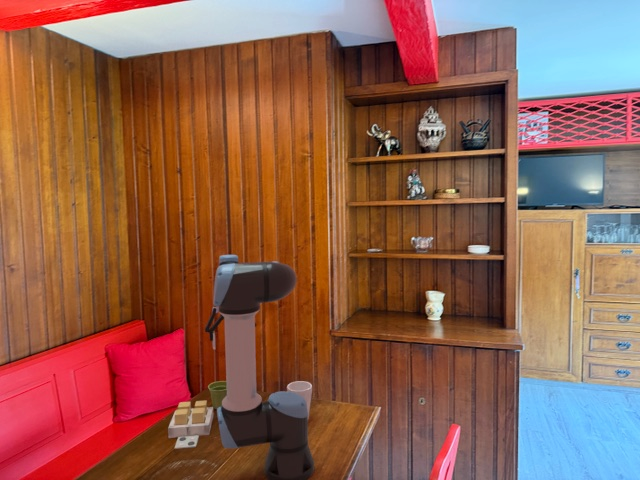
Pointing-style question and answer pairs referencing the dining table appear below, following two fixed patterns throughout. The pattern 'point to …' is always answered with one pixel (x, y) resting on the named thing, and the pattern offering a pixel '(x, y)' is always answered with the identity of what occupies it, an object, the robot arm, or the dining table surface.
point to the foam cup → (302, 391)
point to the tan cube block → (185, 406)
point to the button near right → (198, 415)
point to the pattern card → (186, 442)
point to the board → (191, 426)
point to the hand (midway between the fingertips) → (231, 346)
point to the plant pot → (218, 393)
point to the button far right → (201, 405)
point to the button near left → (181, 417)
